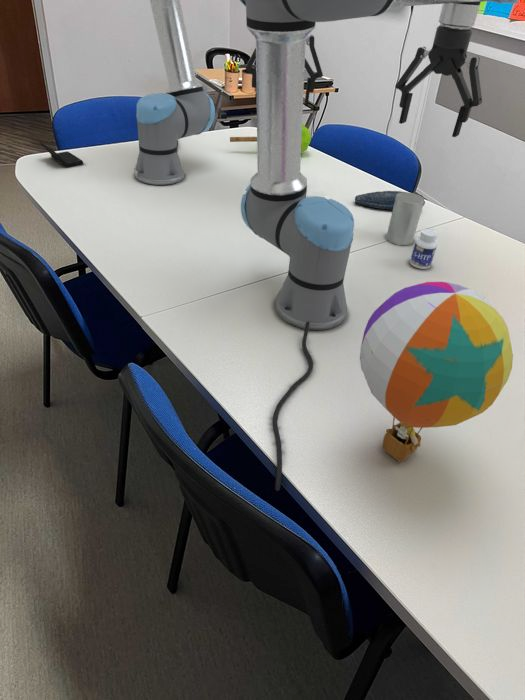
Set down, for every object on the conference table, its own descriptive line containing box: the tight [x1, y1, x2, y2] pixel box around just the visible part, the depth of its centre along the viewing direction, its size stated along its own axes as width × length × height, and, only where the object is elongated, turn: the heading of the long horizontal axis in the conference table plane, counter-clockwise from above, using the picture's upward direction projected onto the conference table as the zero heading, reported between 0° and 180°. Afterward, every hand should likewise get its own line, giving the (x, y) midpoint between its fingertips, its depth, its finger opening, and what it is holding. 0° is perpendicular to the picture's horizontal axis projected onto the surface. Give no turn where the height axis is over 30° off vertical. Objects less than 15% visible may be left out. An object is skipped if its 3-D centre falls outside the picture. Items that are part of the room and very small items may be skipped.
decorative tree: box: [229, 123, 312, 154], centre depth 188 cm, size 18×10×30 cm
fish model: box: [354, 190, 426, 211], centre depth 159 cm, size 7×21×5 cm, turn 84°
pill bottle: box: [409, 228, 439, 270], centre depth 130 cm, size 5×5×9 cm
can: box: [385, 191, 425, 246], centre depth 140 cm, size 7×7×12 cm
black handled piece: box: [38, 141, 84, 168], centre depth 168 cm, size 12×7×10 cm
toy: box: [359, 281, 514, 463], centre depth 73 cm, size 20×20×30 cm
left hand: (281, 103), depth 141 cm, fingers open, 13 cm apart
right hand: (428, 129), depth 125 cm, fingers open, 13 cm apart
